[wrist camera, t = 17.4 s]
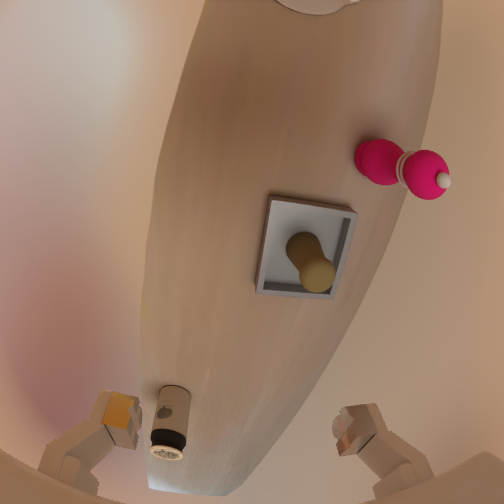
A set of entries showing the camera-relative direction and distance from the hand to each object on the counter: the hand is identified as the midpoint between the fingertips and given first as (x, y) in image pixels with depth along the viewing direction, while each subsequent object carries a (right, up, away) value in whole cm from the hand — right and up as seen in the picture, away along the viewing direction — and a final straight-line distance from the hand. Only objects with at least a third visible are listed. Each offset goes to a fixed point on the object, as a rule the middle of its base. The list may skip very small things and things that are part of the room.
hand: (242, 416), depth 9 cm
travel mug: (-19, -29, +53) cm, 63 cm away
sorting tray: (+9, +7, +38) cm, 40 cm away
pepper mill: (+20, +22, +32) cm, 44 cm away
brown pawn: (+9, +7, +37) cm, 39 cm away
